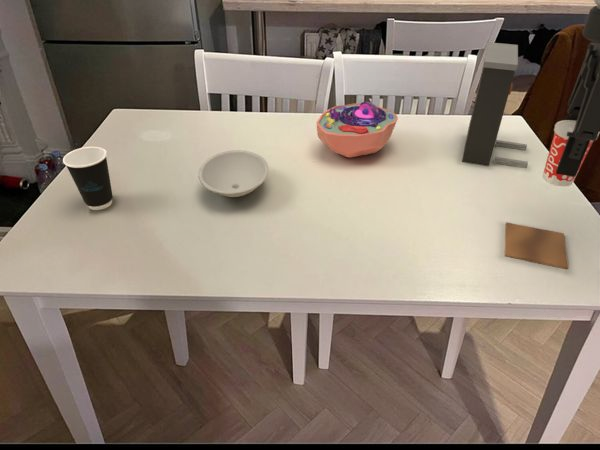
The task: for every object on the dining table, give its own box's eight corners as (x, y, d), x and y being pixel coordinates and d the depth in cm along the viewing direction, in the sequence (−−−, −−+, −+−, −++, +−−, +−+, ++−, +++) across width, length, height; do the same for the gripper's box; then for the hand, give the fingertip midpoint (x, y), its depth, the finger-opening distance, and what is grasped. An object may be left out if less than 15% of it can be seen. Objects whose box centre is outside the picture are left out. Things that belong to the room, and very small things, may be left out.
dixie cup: (93, 219, 91) (76, 170, 84) (72, 205, 95) (54, 157, 88) (128, 201, 95) (114, 154, 89) (106, 188, 100) (92, 142, 93)
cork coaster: (563, 234, 86) (563, 233, 86) (567, 269, 78) (568, 267, 78) (505, 223, 89) (506, 222, 88) (504, 256, 81) (505, 254, 81)
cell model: (301, 147, 114) (300, 103, 107) (364, 127, 123) (368, 86, 116) (342, 177, 103) (344, 130, 96) (409, 153, 111) (415, 108, 104)
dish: (271, 212, 92) (269, 191, 89) (198, 216, 91) (194, 195, 88) (268, 168, 106) (267, 148, 103) (205, 170, 105) (202, 151, 102)
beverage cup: (532, 169, 79) (559, 88, 70) (568, 169, 78) (601, 89, 70) (545, 188, 74) (577, 104, 65) (584, 189, 73) (621, 105, 65)
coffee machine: (525, 144, 115) (556, 48, 101) (526, 172, 104) (560, 69, 90) (465, 136, 119) (487, 42, 105) (460, 162, 108) (484, 61, 94)
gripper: (584, -8, 69) (536, 135, 82) (601, 23, 54) (540, 189, 68) (642, -5, 66) (583, 141, 80) (676, 29, 52) (597, 199, 66)
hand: (563, 163), depth 74 cm, fingers closed on beverage cup, 6 cm apart
